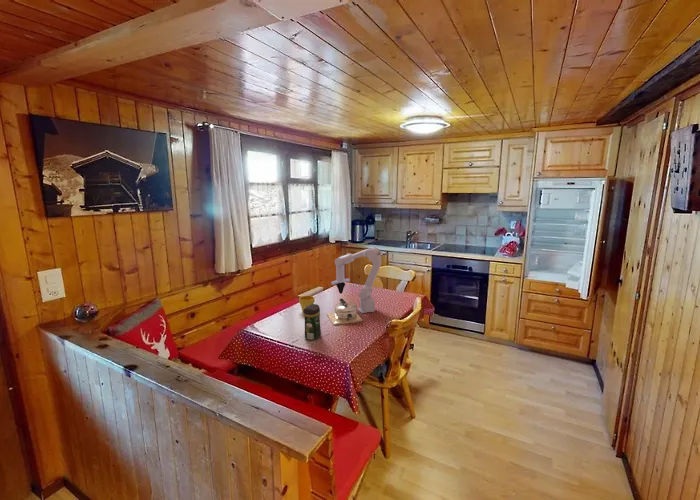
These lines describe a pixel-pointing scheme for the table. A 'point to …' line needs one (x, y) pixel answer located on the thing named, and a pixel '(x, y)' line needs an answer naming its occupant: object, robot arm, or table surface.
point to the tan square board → (344, 317)
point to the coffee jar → (312, 322)
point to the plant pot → (306, 301)
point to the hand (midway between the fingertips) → (340, 293)
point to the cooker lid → (345, 306)
